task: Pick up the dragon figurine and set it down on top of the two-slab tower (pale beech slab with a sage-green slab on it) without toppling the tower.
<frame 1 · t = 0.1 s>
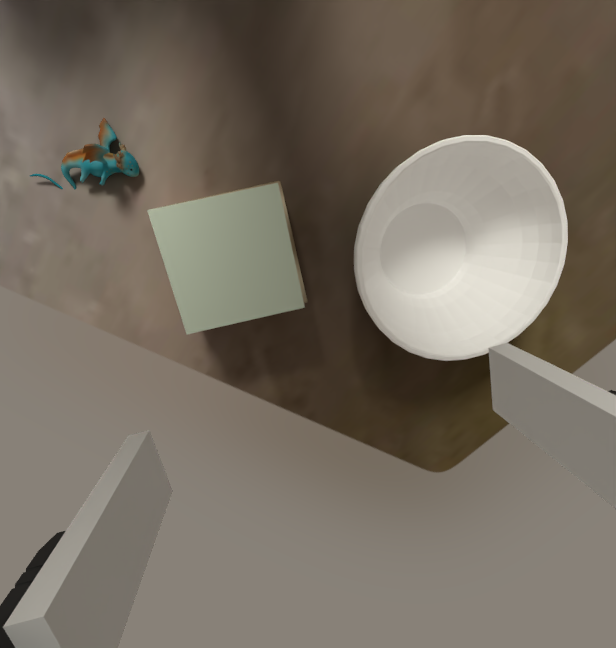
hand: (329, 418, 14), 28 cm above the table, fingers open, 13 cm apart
dragon figurine: (97, 165, 36), on the table
tower top: (234, 257, 36), point 3 cm above the table, touching tower base
bowl: (420, 249, 41), on the table
tower base: (237, 254, 39), on the table, touching tower top
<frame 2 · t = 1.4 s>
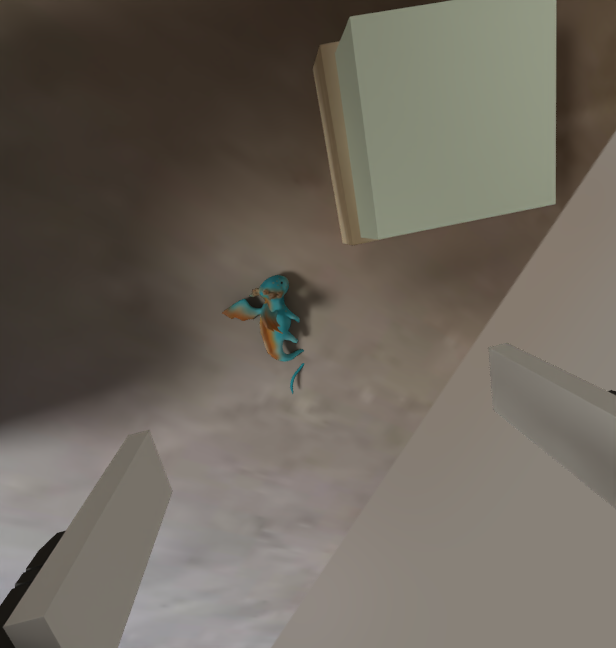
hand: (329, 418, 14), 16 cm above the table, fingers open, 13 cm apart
dragon figurine: (275, 325, 30), on the table
tower top: (430, 136, 24), point 3 cm above the table, touching tower base
tower base: (404, 147, 28), on the table, touching tower top
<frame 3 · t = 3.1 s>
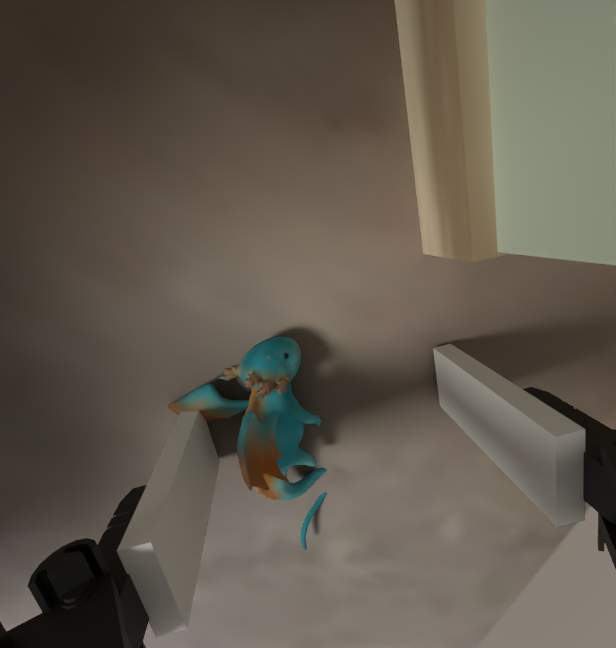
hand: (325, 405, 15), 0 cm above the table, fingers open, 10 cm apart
dragon figurine: (273, 423, 16), on the table, touching gripper
tower base: (557, 51, 13), on the table, touching tower top
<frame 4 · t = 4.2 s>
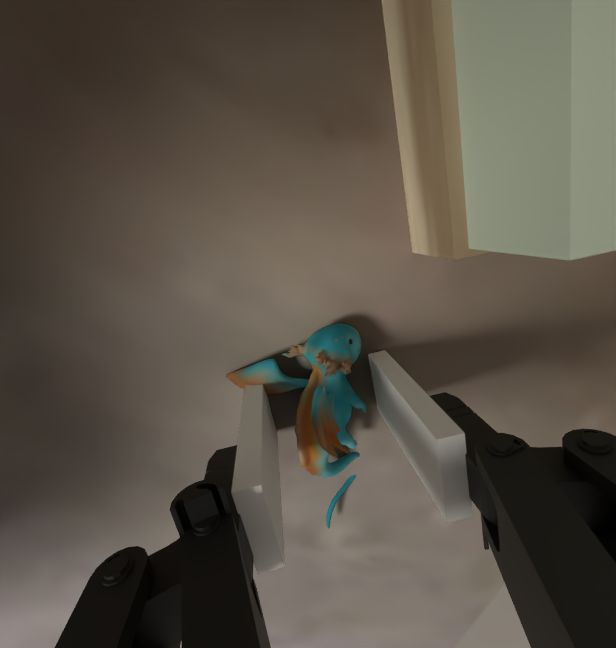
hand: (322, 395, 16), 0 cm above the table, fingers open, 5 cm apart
dragon figurine: (315, 405, 17), on the table, touching gripper
tower base: (537, 64, 14), on the table, touching tower top
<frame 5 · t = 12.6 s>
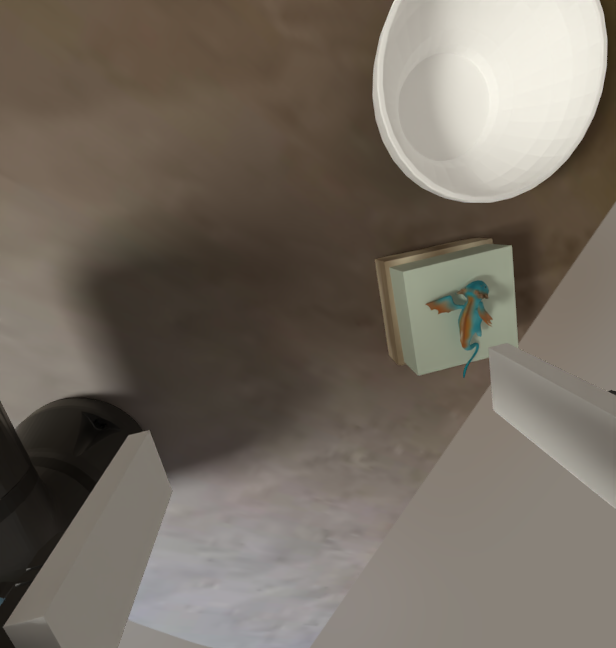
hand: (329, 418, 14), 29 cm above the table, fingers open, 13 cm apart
dragon figurine: (458, 320, 37), point 7 cm above the table, touching tower top
tower top: (444, 304, 40), point 3 cm above the table, touching dragon figurine, tower base
bowl: (439, 111, 39), on the table
tower base: (428, 297, 44), on the table, touching tower top
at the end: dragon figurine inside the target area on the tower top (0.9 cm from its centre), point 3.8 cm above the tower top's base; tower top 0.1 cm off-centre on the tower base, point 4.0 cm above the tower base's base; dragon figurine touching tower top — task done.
